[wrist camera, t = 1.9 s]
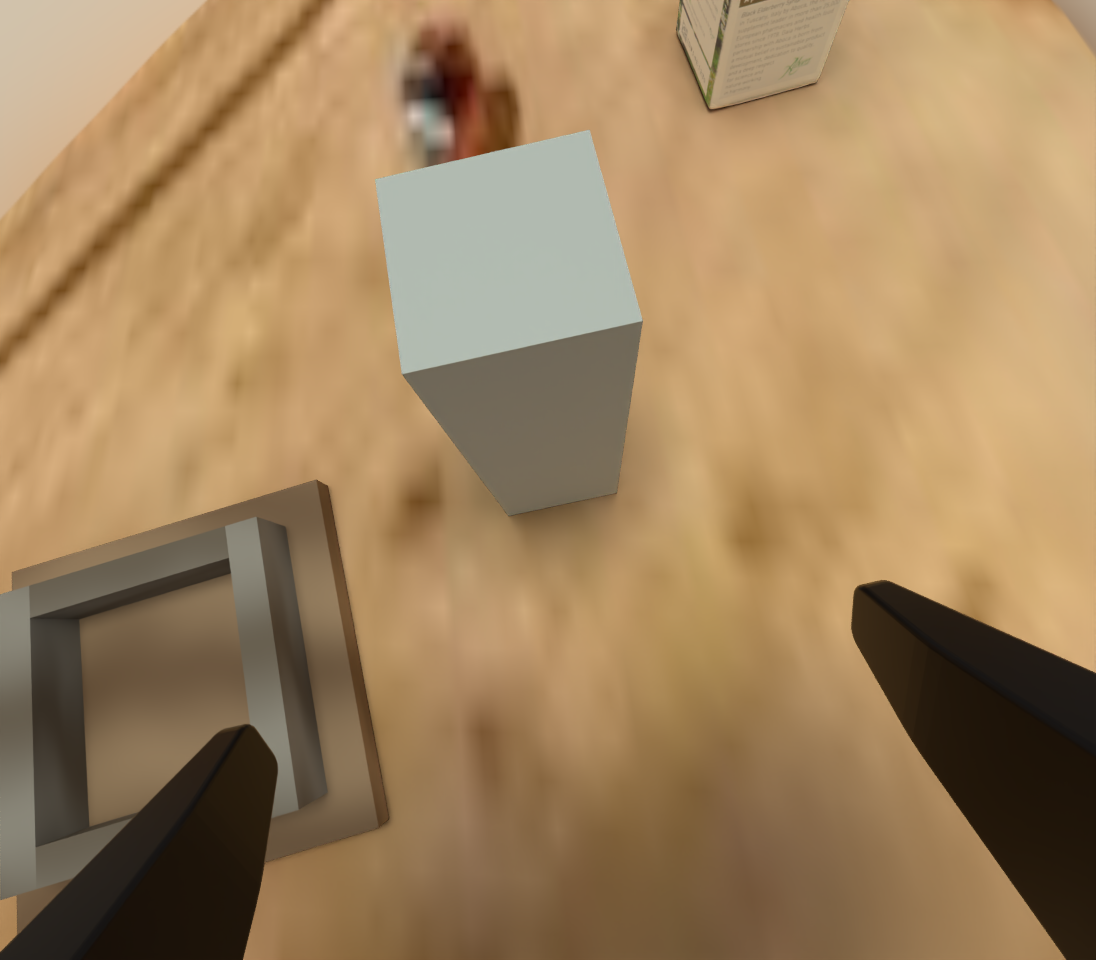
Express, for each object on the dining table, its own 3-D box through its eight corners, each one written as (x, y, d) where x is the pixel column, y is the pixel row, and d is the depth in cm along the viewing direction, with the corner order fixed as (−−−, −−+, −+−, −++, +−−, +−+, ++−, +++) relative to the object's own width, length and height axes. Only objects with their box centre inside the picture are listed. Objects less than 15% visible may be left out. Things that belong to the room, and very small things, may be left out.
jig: (389, 818, 20) (354, 849, 17) (44, 922, 20) (-47, 970, 17) (327, 485, 24) (290, 465, 21) (35, 574, 24) (-42, 566, 21)
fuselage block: (616, 492, 23) (642, 321, 10) (508, 516, 23) (402, 374, 10) (592, 393, 24) (589, 129, 11) (490, 415, 24) (375, 179, 11)
